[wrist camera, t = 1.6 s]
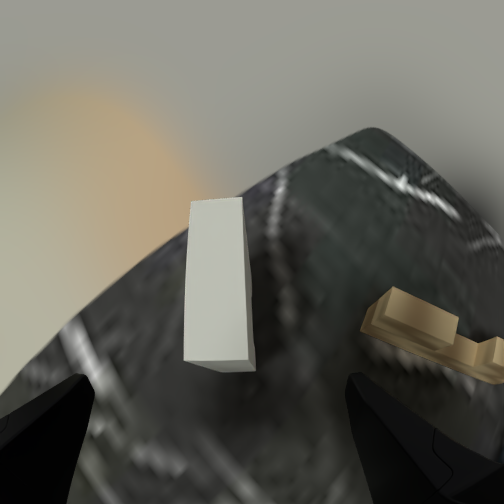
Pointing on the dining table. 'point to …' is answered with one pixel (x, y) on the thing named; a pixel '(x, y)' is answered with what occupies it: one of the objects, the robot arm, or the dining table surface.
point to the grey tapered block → (218, 288)
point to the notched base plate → (432, 336)
